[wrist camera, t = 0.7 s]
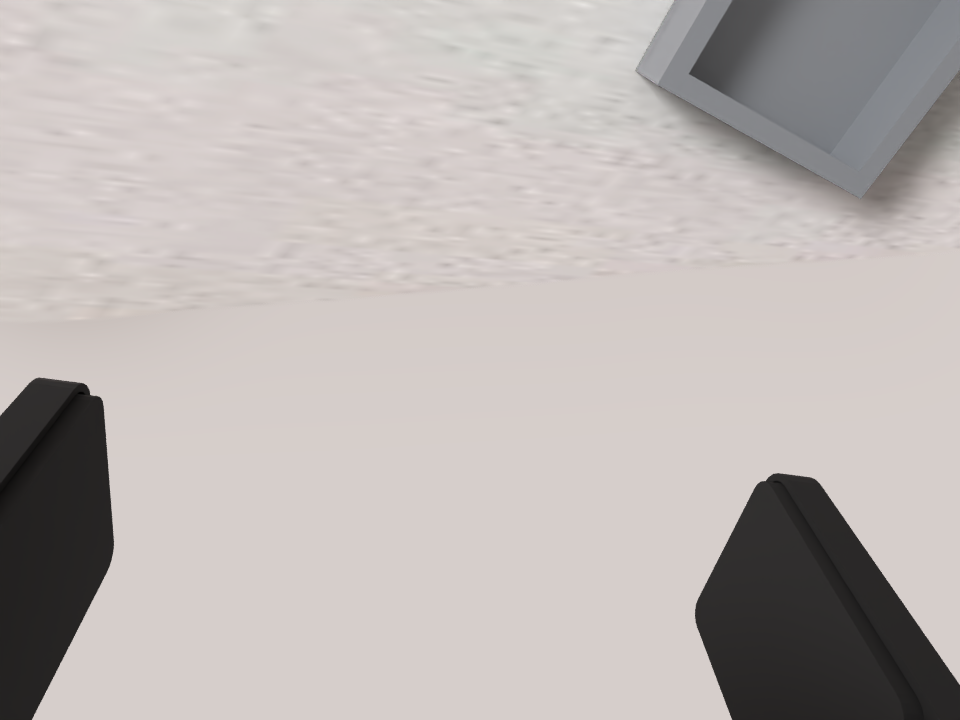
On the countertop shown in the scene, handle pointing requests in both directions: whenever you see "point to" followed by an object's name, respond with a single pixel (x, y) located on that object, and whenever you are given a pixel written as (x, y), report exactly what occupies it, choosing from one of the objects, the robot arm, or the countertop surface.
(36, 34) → the countertop surface
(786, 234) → the countertop surface
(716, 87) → the bin
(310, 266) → the countertop surface
